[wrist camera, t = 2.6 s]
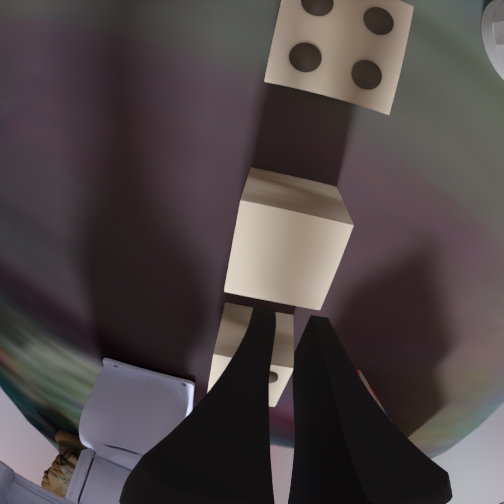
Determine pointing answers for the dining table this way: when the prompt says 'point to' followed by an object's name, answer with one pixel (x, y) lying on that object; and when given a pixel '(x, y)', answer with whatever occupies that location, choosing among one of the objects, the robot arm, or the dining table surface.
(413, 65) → the dining table surface
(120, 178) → the dining table surface
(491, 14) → the cup
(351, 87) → the dotted block
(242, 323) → the dotted block
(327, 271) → the plain block
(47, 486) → the brown lumpy figurine
